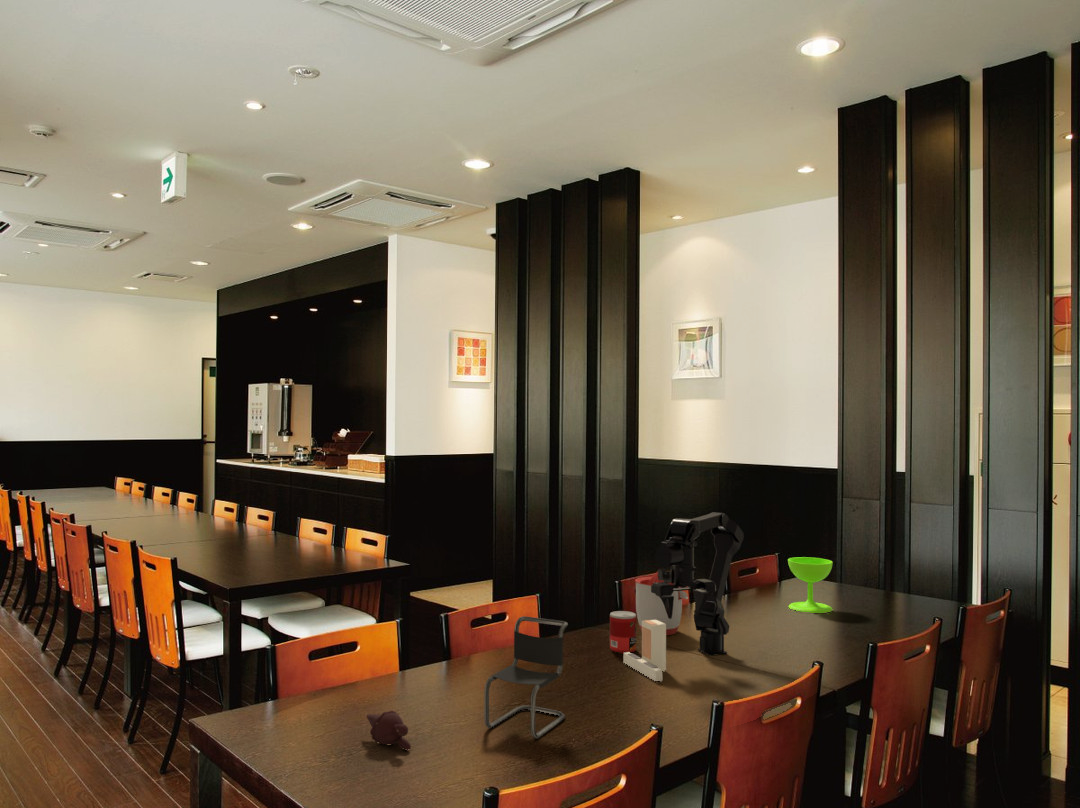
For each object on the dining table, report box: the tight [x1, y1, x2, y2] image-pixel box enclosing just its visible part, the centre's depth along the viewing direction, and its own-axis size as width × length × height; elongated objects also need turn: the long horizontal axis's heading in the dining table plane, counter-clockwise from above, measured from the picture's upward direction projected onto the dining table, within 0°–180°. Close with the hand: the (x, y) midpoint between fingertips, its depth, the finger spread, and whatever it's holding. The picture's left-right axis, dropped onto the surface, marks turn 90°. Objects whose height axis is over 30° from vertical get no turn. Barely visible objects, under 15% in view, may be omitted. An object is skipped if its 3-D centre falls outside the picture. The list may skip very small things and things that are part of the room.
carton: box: [641, 620, 667, 672], centre depth 221 cm, size 5×6×13 cm
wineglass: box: [787, 556, 834, 613], centre depth 296 cm, size 16×16×18 cm
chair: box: [483, 615, 569, 739], centre depth 180 cm, size 13×17×22 cm
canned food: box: [609, 610, 637, 654], centre depth 239 cm, size 8×8×11 cm
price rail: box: [622, 652, 663, 682], centre depth 218 cm, size 2×18×3 cm, turn 22°
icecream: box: [366, 710, 412, 750], centre depth 168 cm, size 7×7×15 cm
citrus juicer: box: [634, 571, 689, 636], centre depth 261 cm, size 16×17×20 cm
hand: (683, 617), depth 227 cm, fingers open, 9 cm apart
